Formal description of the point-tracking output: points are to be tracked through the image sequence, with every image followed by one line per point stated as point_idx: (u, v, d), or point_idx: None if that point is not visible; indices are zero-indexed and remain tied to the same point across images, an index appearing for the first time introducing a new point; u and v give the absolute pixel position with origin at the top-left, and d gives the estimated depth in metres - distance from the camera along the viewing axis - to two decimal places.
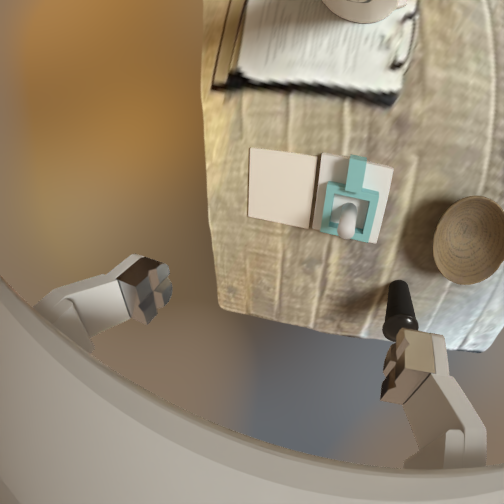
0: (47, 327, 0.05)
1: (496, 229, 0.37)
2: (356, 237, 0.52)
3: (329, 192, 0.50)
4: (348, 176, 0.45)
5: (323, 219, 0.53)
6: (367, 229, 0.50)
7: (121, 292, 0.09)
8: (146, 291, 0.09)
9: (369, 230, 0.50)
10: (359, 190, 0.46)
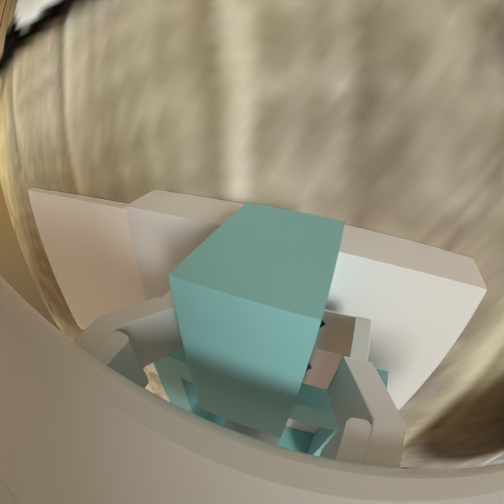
0: (47, 327, 0.05)
1: None
2: None
3: (164, 367, 0.12)
4: (196, 371, 0.07)
5: None
6: None
7: None
8: None
9: None
10: (272, 428, 0.07)
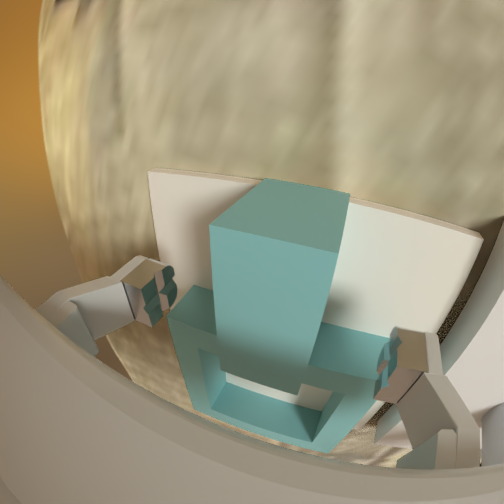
0: (47, 327, 0.05)
1: None
2: (292, 441, 0.15)
3: (182, 339, 0.13)
4: (222, 324, 0.08)
5: (192, 393, 0.16)
6: (328, 439, 0.13)
7: (126, 294, 0.08)
8: (151, 293, 0.09)
9: (334, 441, 0.13)
10: (289, 385, 0.09)
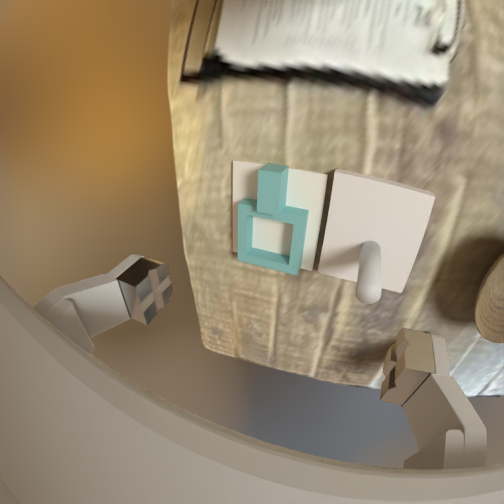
0: (47, 327, 0.05)
1: None
2: (280, 268, 0.43)
3: (241, 213, 0.41)
4: (259, 193, 0.36)
5: (239, 246, 0.44)
6: (294, 259, 0.41)
7: (121, 292, 0.09)
8: (146, 291, 0.09)
9: (296, 260, 0.41)
10: (275, 211, 0.37)
